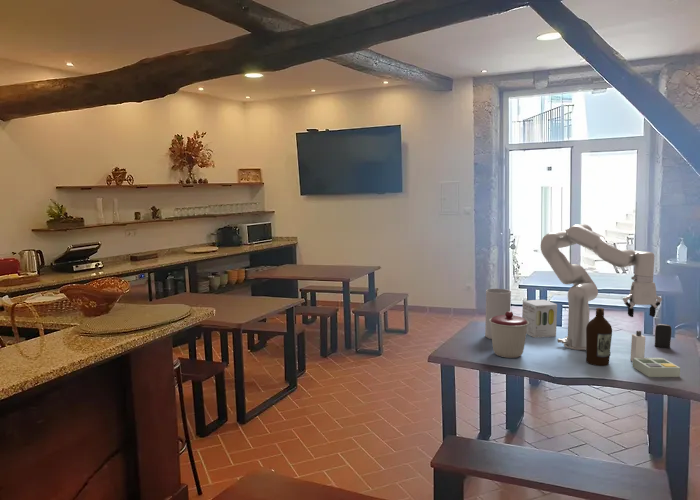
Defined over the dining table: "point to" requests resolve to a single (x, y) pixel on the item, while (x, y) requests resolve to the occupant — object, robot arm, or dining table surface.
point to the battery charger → (663, 335)
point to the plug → (637, 345)
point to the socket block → (656, 367)
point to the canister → (508, 334)
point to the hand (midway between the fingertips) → (641, 316)
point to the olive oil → (598, 340)
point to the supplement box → (540, 318)
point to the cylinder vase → (496, 306)
